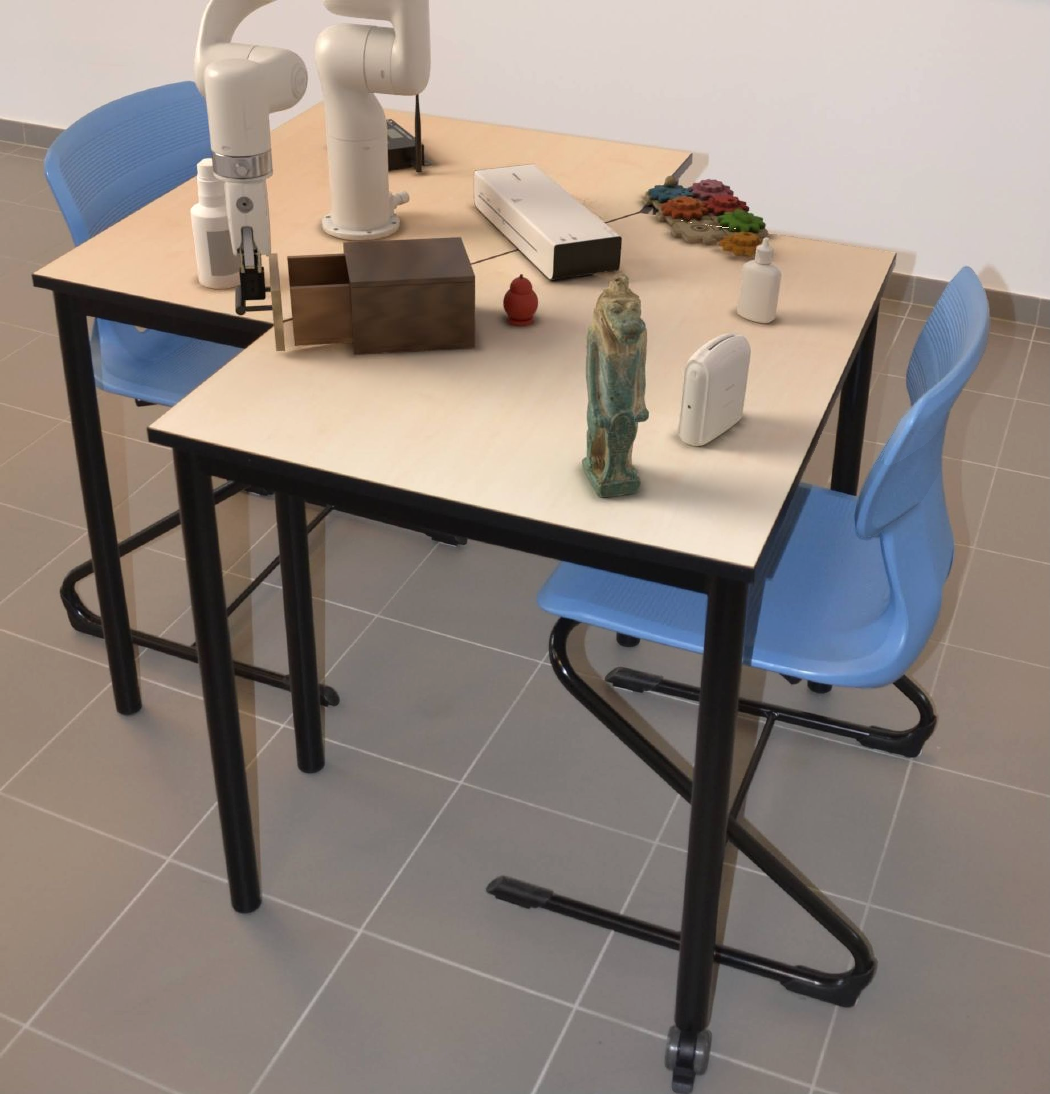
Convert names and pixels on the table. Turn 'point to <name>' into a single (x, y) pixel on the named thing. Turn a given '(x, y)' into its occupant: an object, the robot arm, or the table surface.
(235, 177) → the robot arm
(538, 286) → the table surface
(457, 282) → the cabinet
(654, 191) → the gear puzzle
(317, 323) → the drawer
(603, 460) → the statue
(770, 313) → the eye dropper bottle
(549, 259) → the laminator
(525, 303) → the pear
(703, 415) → the photo printer
